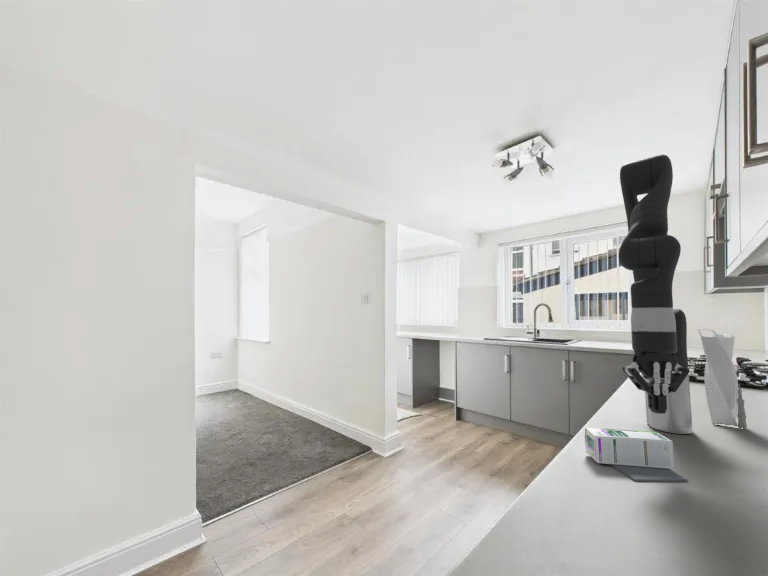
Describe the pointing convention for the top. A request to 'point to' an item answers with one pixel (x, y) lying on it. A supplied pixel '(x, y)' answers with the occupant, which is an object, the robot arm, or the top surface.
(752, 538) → the top surface
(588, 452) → the syrup box
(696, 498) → the top surface
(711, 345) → the skyscraper
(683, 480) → the mat
